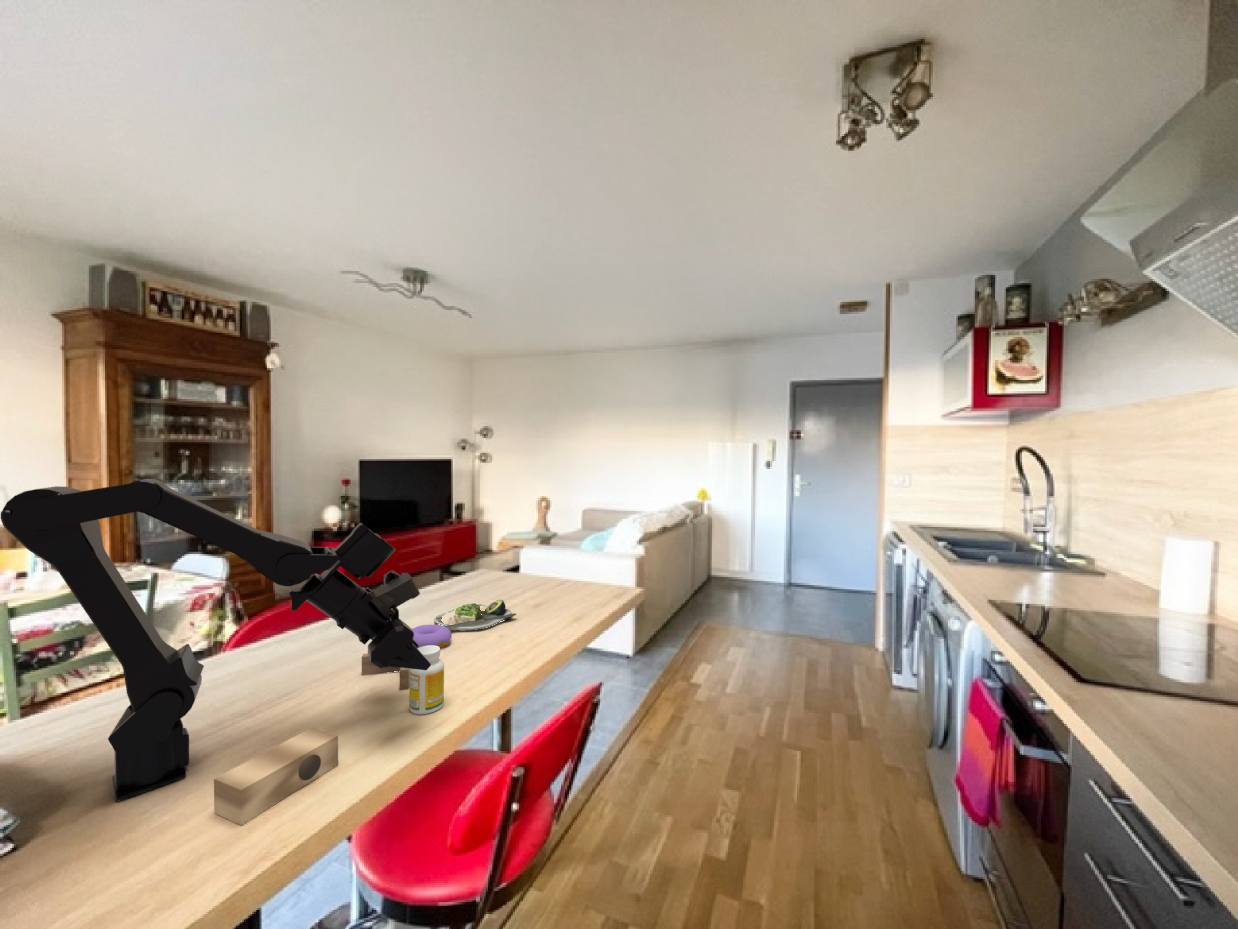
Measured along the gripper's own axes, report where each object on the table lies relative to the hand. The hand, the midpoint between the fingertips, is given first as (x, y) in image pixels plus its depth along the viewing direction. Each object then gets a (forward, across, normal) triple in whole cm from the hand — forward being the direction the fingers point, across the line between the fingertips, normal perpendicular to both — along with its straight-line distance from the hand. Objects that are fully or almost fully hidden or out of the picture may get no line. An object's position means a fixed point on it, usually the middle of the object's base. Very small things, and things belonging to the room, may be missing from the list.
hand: (422, 657), depth 82 cm
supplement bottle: (+7, 0, +6) cm, 9 cm away
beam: (-8, -11, +20) cm, 24 cm away
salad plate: (+22, +40, -8) cm, 46 cm away
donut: (+11, +28, +1) cm, 31 cm away
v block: (+5, +16, +7) cm, 18 cm away
